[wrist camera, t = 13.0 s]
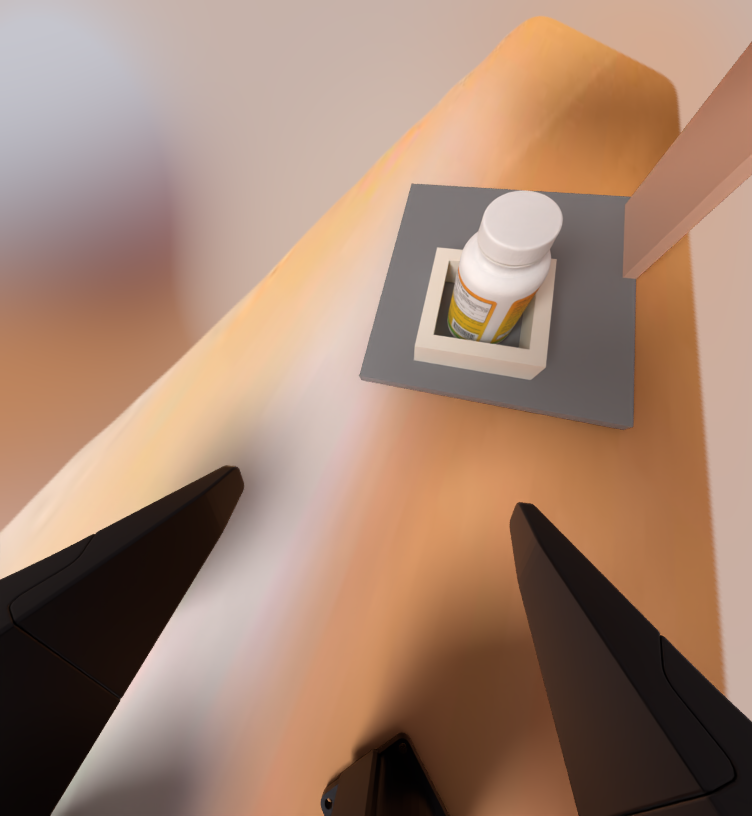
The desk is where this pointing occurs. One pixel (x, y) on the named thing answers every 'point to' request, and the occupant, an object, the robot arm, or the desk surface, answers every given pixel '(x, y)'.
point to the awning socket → (557, 278)
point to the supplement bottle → (503, 266)
